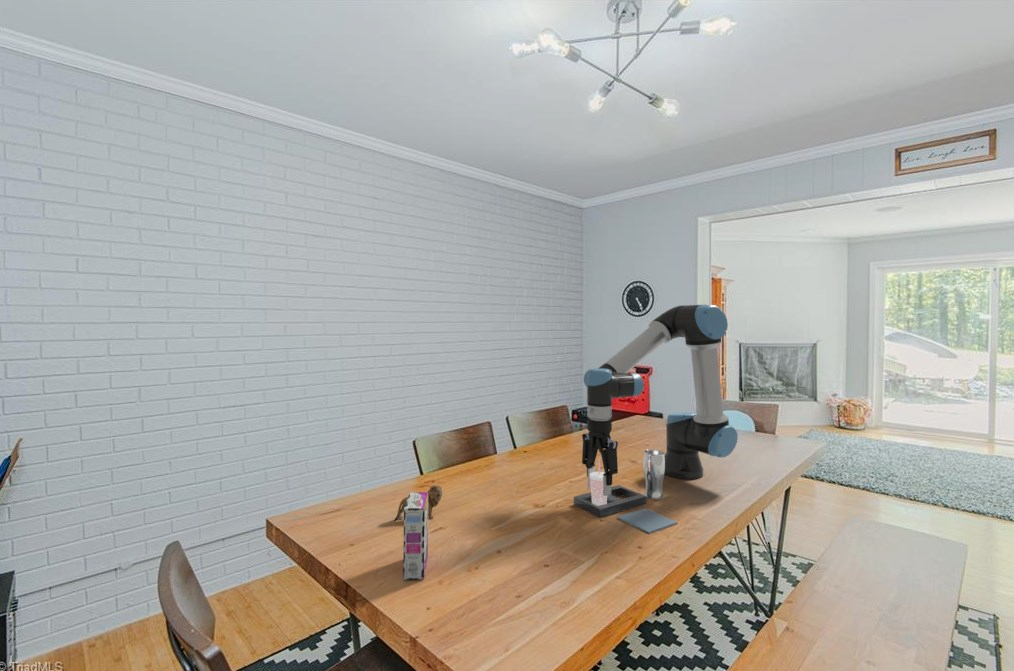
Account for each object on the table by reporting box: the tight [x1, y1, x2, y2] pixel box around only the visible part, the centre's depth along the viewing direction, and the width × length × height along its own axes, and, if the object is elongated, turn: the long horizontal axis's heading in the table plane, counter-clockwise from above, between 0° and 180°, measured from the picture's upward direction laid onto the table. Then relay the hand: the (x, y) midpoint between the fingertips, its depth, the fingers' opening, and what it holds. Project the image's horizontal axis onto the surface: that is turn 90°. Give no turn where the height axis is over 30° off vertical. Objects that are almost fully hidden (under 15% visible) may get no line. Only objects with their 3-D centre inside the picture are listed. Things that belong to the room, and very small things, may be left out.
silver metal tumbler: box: [642, 449, 666, 501], centre depth 158 cm, size 7×7×15 cm
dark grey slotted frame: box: [573, 484, 647, 518], centre depth 152 cm, size 20×12×2 cm, turn 122°
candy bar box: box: [402, 491, 429, 581], centre depth 112 cm, size 11×5×16 cm, turn 5°
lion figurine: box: [393, 484, 443, 522], centre depth 141 cm, size 15×5×9 cm, turn 117°
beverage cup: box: [589, 458, 607, 506], centre depth 149 cm, size 6×6×14 cm
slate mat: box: [616, 507, 678, 535], centre depth 139 cm, size 12×12×1 cm
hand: (599, 491), depth 149 cm, fingers closed on beverage cup, 6 cm apart
